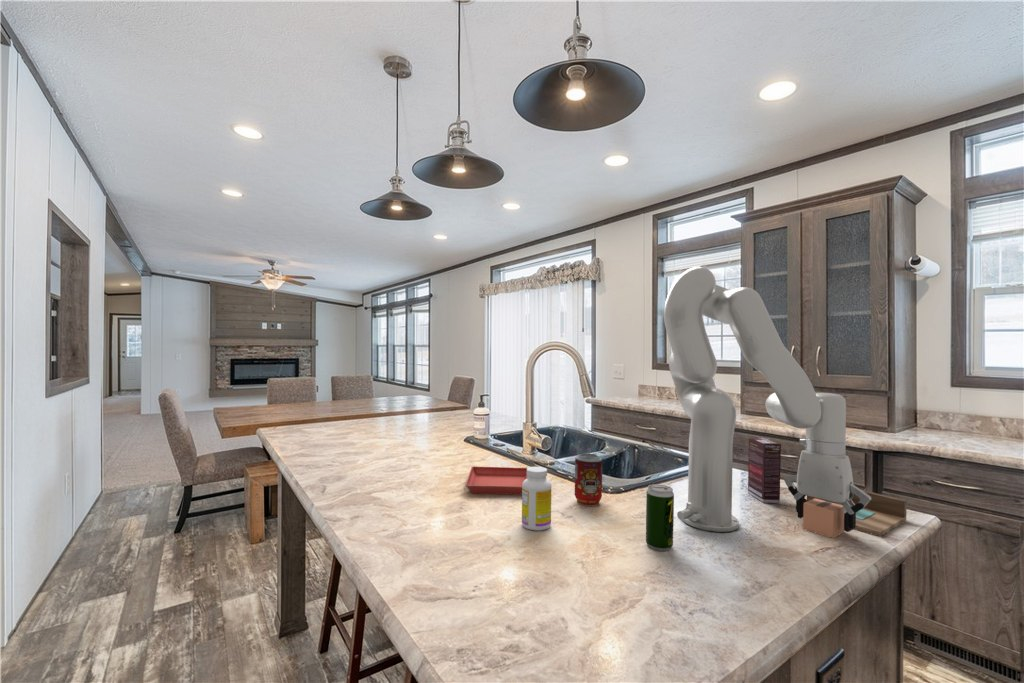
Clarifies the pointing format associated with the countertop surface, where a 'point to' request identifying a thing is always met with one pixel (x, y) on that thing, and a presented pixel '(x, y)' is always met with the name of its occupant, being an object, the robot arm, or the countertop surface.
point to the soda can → (588, 479)
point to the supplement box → (764, 469)
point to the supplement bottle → (536, 499)
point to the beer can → (659, 517)
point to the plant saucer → (496, 480)
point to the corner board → (878, 513)
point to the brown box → (823, 517)
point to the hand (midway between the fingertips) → (824, 523)
